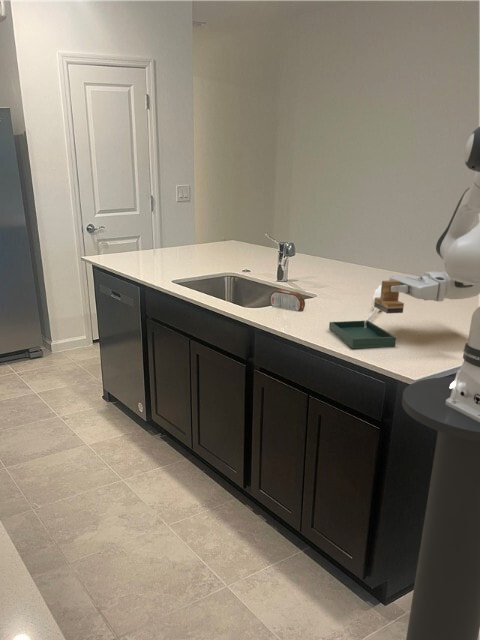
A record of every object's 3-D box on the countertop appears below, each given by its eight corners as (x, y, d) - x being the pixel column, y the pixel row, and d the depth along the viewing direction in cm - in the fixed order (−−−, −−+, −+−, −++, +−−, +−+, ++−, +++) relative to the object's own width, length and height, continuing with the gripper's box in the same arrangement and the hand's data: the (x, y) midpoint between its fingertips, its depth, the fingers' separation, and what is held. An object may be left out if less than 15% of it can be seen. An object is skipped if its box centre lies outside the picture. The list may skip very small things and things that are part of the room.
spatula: (352, 335, 188) (364, 336, 186) (353, 313, 185) (365, 314, 183) (379, 301, 217) (389, 302, 215) (381, 281, 213) (391, 282, 211)
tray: (395, 346, 168) (396, 337, 167) (352, 348, 167) (353, 339, 166) (367, 328, 189) (368, 320, 188) (328, 330, 187) (329, 322, 186)
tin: (304, 314, 210) (306, 292, 207) (300, 316, 208) (301, 294, 205) (272, 308, 220) (273, 287, 217) (268, 309, 218) (268, 289, 214)
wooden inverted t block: (402, 312, 168) (406, 283, 165) (387, 313, 168) (390, 284, 165) (388, 306, 177) (391, 278, 174) (374, 306, 177) (376, 278, 174)
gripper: (415, 270, 180) (375, 272, 179) (448, 281, 161) (403, 283, 160) (413, 290, 182) (373, 291, 181) (445, 302, 163) (401, 304, 162)
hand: (387, 287), depth 170 cm, fingers closed on wooden inverted t block, 2 cm apart
